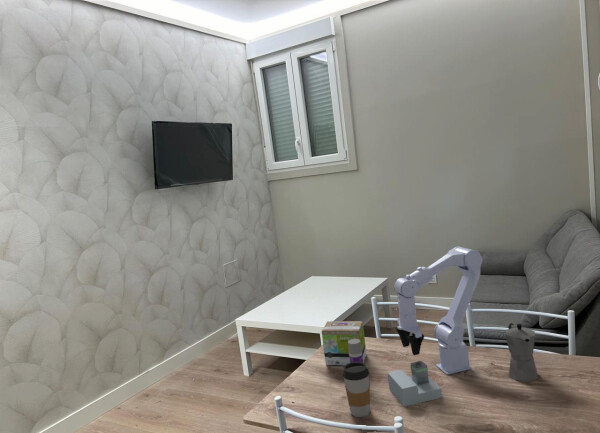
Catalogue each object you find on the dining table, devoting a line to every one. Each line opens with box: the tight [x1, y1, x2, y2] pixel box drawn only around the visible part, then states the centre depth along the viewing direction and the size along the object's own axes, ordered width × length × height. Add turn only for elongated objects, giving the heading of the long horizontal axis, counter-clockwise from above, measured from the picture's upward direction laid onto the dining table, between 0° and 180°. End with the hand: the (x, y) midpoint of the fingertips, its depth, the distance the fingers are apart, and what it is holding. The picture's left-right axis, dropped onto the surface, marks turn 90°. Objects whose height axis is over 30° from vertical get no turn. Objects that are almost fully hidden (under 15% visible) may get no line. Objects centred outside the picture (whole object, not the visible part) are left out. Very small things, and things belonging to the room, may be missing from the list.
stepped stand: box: [387, 369, 443, 407], centre depth 151 cm, size 13×12×6 cm
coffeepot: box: [504, 322, 539, 383], centre depth 154 cm, size 15×9×18 cm, turn 176°
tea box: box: [321, 320, 367, 366], centre depth 182 cm, size 15×10×15 cm, turn 73°
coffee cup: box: [342, 362, 372, 418], centre depth 144 cm, size 8×8×15 cm
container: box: [348, 339, 363, 363], centre depth 164 cm, size 5×5×15 cm
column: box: [410, 360, 429, 385], centre depth 152 cm, size 4×4×6 cm
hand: (411, 350), depth 160 cm, fingers open, 7 cm apart
